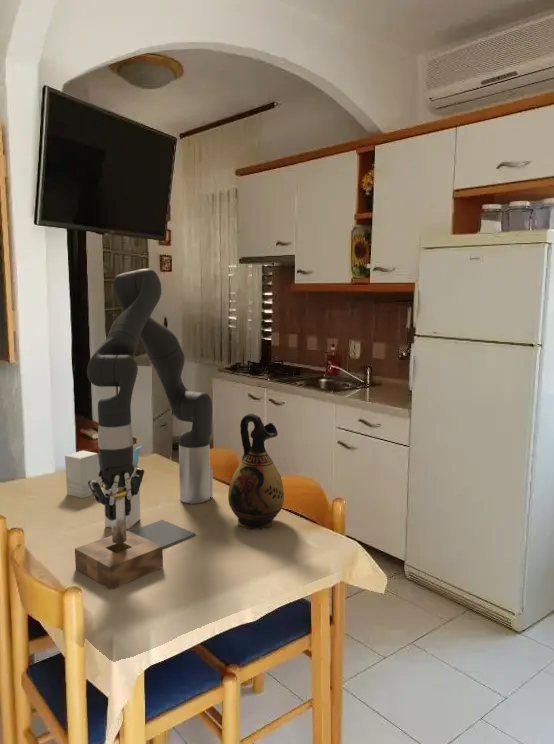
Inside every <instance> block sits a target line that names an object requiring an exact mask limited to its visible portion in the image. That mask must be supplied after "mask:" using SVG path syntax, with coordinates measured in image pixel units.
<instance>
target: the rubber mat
mask: <svg viewBox="0 0 554 744" xmlns="http://www.w3.org/2000/svg"><path fill="white" fill-rule="evenodd" d="M129 531H130V532H132V533H134V534H136V535H138V536H141V537H143V538H145V539H147V540H149V541H152V542H154V543H156V544H158V545H160V546H162V547H163V549H165V548H168V547H171V546H173V545H175V544H178V543H181V542H183V541H186V540H188V539H189V538H192V537H194V536H195V537H196V535H197V534H196V532H194V531H191V530H188V529H186V528H184V527H182V526H178V525H176V524H174V523H171V522H169V521H166V520H164V519H160V520H158V521H154V522H152V523H149V524H147V525H144V526H141V527H138V528H134V529H133V530H129Z"/></svg>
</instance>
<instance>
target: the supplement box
mask: <svg viewBox="0 0 554 744" xmlns="http://www.w3.org/2000/svg"><path fill="white" fill-rule="evenodd" d="M64 460H65V479H66V480H65V481H66V494H67V495H68V496H69V495H70V496H72V497H77V498H81V499H84V498H86V497H89V496H94V495H93V493H92V491H91V489H90V487H89V485H88V481H89V480H94V479H96V478H97V477H98V476H99V453H98V452H94V451H93V452H91V451H88V450H79V451H76V452H73V453H70V454H67V455H64Z"/></svg>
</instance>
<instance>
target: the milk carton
mask: <svg viewBox="0 0 554 744" xmlns="http://www.w3.org/2000/svg"><path fill="white" fill-rule="evenodd" d="M132 464H133V466H134V468H139V469H140V467H139V466H138V465H136V463H135V462H134V461H133V463H132ZM131 478H132V476H131ZM131 478H130V481H131ZM102 483H103V482H102ZM102 487H104V483H103V485H102ZM140 491H141V490H140V489H139V491H138V494H137V495H134V496H132V498H131V511H130V514H129V515H128V516H126V530H127V529H128V530H129V529H131V528H132V527H133V526H134V525H135V524H136V523H137V522H139V521H140V519H141V502H140V501H141V499H140V494H141V493H140ZM103 508H104V509H103V510H104V511H103V512H104V527H106V528H107V527H108V528H112V523H111V520H109V519H108V518H107V517H106V516H105V505H103Z"/></svg>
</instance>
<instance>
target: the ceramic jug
mask: <svg viewBox="0 0 554 744" xmlns="http://www.w3.org/2000/svg"><path fill="white" fill-rule="evenodd" d="M251 422H252V423H253V426H254V428H253V429H252V430H251V432H249V423H251ZM239 425H240V427H239V428H240V429H239V431H240V438H241V443H242V444H241V445H242V448H243V455H242V458H241V462H240V463H239V465H238V467H237V468H236V470H235V472H234V473H233V475H232V477H231V481H230V484H229V487H228V495H227V497H228V505H229V506H230V509H231V511H232V512H233V514H234V515H235V516H236V517H237V522H238V524H239V525H240V526H241V527H243V528H245V529H247V530H251V531H252V530H263V529H268V528H270V526H272V525H273V520H274V519H275V518H276V517H277V516H278V514H279V513H280V512H281V511H282V508H283V506H284V502H285V490H284V485H283V480H282V475H281V474H280V472H279V470H278V469H277V466H276V465H275V463H274V461H273V459H272V457H270V455H269V454H268V452H267V450H266V448H265V442H266V441H267V440H269V439H272V438H276V437H278V435H279V433H278V430H277V427H276V426H275V425H274V424H273V423H272V422H269V423H268V424H265V423H263V421H262V419H261V417H260V416H258V415H255V414H254V413H248V414H246V415H244V416H243V417H242V419H241V420H240V424H239ZM250 438H251V439H252V443H251V440H250ZM271 524H272V525H271Z"/></svg>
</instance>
